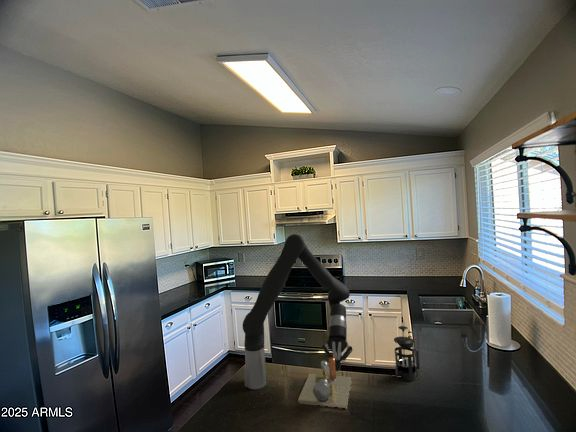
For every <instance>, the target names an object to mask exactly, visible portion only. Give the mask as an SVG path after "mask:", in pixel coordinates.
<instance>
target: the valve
mask: <svg viewBox="0 0 576 432" xmlns="http://www.w3.org/2000/svg"><path fill="white" fill-rule="evenodd" d="M327 365H328V367H329V362H327ZM351 379H352V377H350V376H344V375H343V376H342V375H336V383H335V384H332V383H331V381H330V379H329V377H328V375H327V373H326V372H325V370H324V368H323V367H320V368H317V372H316V373H308V376H307V378H306V381H304V382H305V383H304V384H303V387H302V389H301V392H300V394H299V396H298V399H297V404H301V405H310V406H317V405H320V406H319V407H325V406H328V408H334V407H338V408H337V409H342V408H345V409H344V410H348V406H349V405H348V404H349V400H350V393H349V391H350V392H351V387H350V385H351V386H352V381H351ZM348 399H349V400H348ZM347 405H348V406H347Z"/></svg>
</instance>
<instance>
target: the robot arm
mask: <svg viewBox="0 0 576 432" xmlns="http://www.w3.org/2000/svg"><path fill="white" fill-rule="evenodd" d="M284 242H285V243H284V245H283V247H282V251H281V253H280V255H279V257H278V259H277V260H276V262H275V263H274V265H273V266H272V267H271V268H270V271H269V272H268V274H267V275H266V277H265V278H264V281H263V283H262V285H261V286H260V288H259V291H258V295H257V298H256V300H255V303H254V305H253V306H252V308H251V310H250V311H249V312H248V313H247V314H246V315H245V317H244V319H243V321H242V331H243V333H244V358H245V359H244V360H245V361H244V362H245V365H243V373H244V374H243V377H244V387H245V388H248V389H250V390H260V389H262V388H265V386H266V385H267V370H266V369H267V367H266V353H265V321H266V319H267V316H268V314H269V312H270V310H271V308H272V307H273V306H274V304H275V302H276V301H277V299H278V298H279V296H280V294H281V293H282V290H283V288H284V287H285V285H286V283H287V281H288V278H289V275H290V273H291V271H292V268H293V266H294V264H295V263H296V261H297V260H298V259H299V260H300V261H301V262H302V264H303V265H304V267H306V268H307V270H308V271H309V273H310V274H311V275H312V277H313V278H314V279H315V280H316V281H317V283H319V285H320V286H321V287H322V288H323V289H330V290H329V292H328V294H327V301H328V305H329V306H328V307H329V309H330V311H329V313H330V314H329V315H330V316H329V321H328V322H329V323H328V339H327V341H326V343H325V344H322V346H321V347H322V350H323V351H324V353H325V355H326V356H327V357H328V358H329V357H334V358H335V369H336V372H340V370H341V363H342V362H343V361H346V360H347V358H349V356H350V355H351V354H352V352H353V350H354V349H353V346H352V345H350V344H348V341H347V335H348V334H347V333H348V332H347V329H348V326H347V308H346V306H345V305H344V304H341V303H342V302H344V301H346V300H348V299H349V298H350V292H351V291H350V290H349V288H348V286H347V285H346V284H344V283H343V282H342V281H341V280H338V279H337V278H336V277H335V276H333V275H332V274H331V273H330V272H329V270H328V269H327V268H326V266H324V265H323V264H322V263H321V262H320V260H319V259H317V258H316V256H315V255H314V254H313V253H312V251H310V249H309V247H308V245H306V243H305V240H304V238H303V237H302V236H301V235H300V234H297V233H294V234H293V233H292V234H290V235H288V236H287V238H286V240H285V241H284ZM329 349H330V351H329ZM344 351H345V352H344ZM331 352H332V354H331ZM343 352H344V353H343Z"/></svg>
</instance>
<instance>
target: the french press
mask: <svg viewBox="0 0 576 432" xmlns="http://www.w3.org/2000/svg"><path fill="white" fill-rule="evenodd" d="M398 329H399V330H401V331H402V336H396V337H394V338H393V341H394V342H395V343H396V344H397V345H398V347H395V348H394V355H395V356H394V358H395V359H394V360H395V377H396V376H401V377H396V378H397V379H398V380H400V381H403V382H415V381H417V378H418V376H417V370H419V369H420V360H419V359H420V358H419V350H418V349H417V348H413V347H414V343H415V340H414V339H413V338H412V337H409V336H405V330H408V329H409V328H408V326H405V325H401V326H398ZM397 351H398V352H397ZM406 351H411V354H410V353H409V354H406ZM403 353H404V354H403Z"/></svg>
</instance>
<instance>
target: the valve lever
mask: <svg viewBox="0 0 576 432" xmlns="http://www.w3.org/2000/svg"><path fill="white" fill-rule="evenodd" d="M327 363H329V367H328V365H327ZM320 366H321V367H323V368H324V370H325V372H326V373H327V375H328V377H329V379H330V381H331V383H332V384H335V383H336V376H337V371H336V369H335V358H334V357H328V361H327V360H321V361H320ZM321 367H320V368H321Z"/></svg>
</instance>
